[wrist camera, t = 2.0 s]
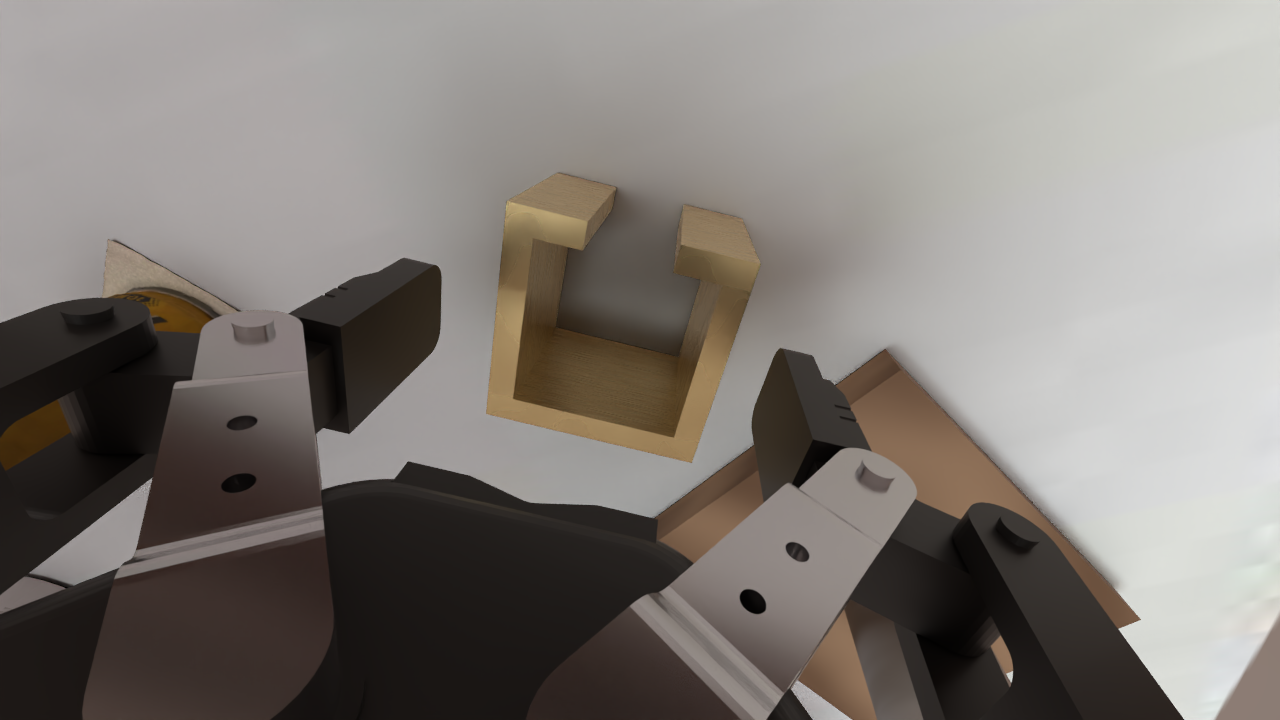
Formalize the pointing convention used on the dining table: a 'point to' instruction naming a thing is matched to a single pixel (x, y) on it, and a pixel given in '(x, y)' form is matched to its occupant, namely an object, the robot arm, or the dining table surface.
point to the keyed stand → (944, 478)
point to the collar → (599, 368)
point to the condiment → (170, 311)
